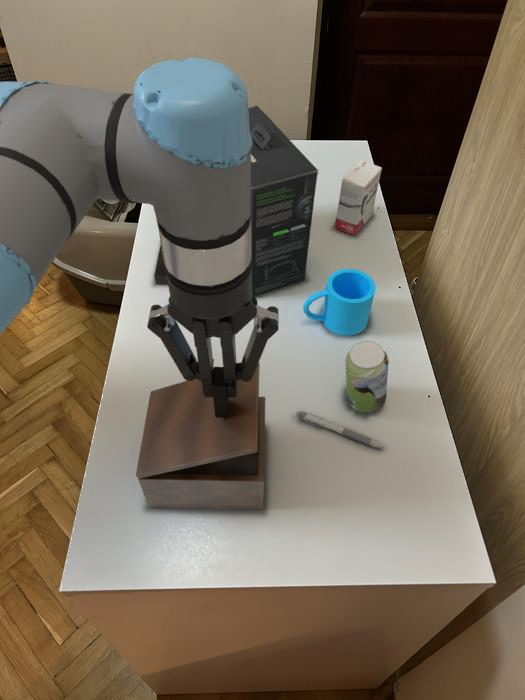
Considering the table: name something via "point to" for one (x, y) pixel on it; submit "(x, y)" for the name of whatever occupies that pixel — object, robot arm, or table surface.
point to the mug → (345, 302)
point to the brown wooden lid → (197, 427)
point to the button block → (160, 270)
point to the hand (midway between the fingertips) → (222, 408)
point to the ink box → (357, 197)
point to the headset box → (278, 206)
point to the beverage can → (366, 376)
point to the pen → (338, 429)
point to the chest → (213, 481)
